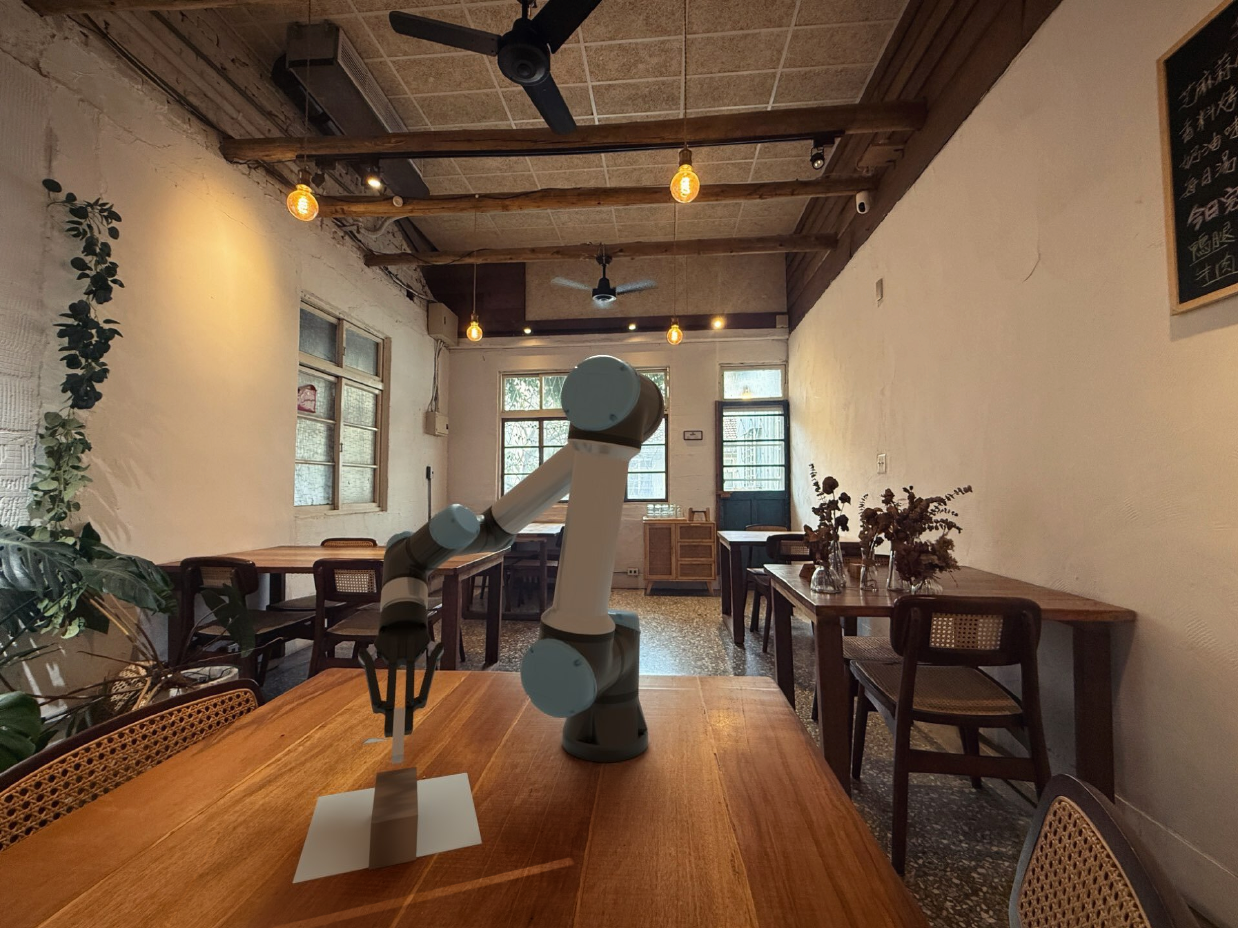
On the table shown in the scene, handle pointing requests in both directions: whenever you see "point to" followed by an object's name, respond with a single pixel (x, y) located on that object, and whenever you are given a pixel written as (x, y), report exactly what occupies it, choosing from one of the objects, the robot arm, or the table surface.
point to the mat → (347, 823)
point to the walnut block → (394, 818)
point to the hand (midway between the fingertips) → (397, 758)
